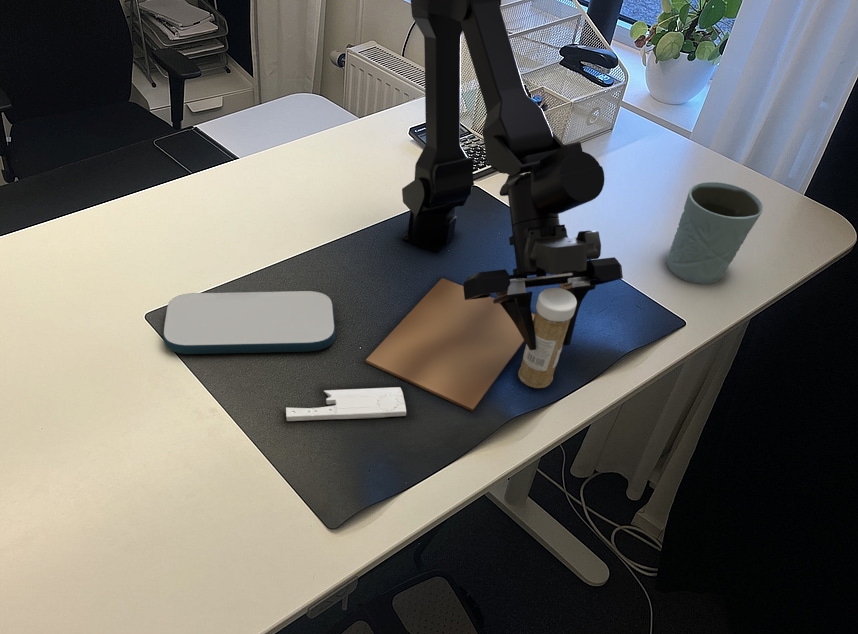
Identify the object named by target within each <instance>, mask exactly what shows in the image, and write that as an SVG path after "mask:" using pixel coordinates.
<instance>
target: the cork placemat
mask: <svg viewBox="0 0 858 634" xmlns="http://www.w3.org/2000/svg"><path fill="white" fill-rule="evenodd" d="M463 287H464V285H461V284H460V283H459V284H458V283H456V282H453V281H451V280H448V279H447V278H443V277H441V278H440V279H439V281H437V283H436V284H435V285H433V287H432V288H430V290H429V291H428V292H427V294H425V295H424V296H423V298H422V299H421V300H420V301H419V302H418V303H417V304H416V305H415V306H414V307H413V308H412V309H411V311H409V313H408V314H407V315H406V316H405V317H404V318H403V319H402V320H401V321H400V323H398V324H397V326H396V327H395V328H393V330H392V331H391V332H390V333H389V334H388V335H387V336H386V337H385V338H384V339H383V340H382V342H381V343H380V344H379V345H378V346H377V347H376V348H375V349H374V350H373V351H372V353H371V354H370V355H368V357H367V358H366V359H365V363H366V364H368V365H370V366H372V367H375V368H376V369H379V370H381V371H383V372H385V373H388V374H390V375H391V376H394V377H397V378H398V379H401V380H403V381H404V382H407V383H409V384H412V385H413V386H416V387H418V388H419V389H423V390H424V391H427V392H429V393H431V394H433V395H435V396H438V397H440V398H442V399H444V400H446V401H449V402H450V403H452V404H455V405H457V406H460V407H462V408H463V409H466V410H468V411H470V412H474V411H475V409H476V408H477V407H478V405H479V404H480V402H481V401H482V400H483V398H484V397H485V396H486V394H487V393H488V391H489V390H490V389H491V387H492V386H493V385H494V384H495V382H496V381H497V379H498V378H499V377H500V375H501V374H502V373H503V371H505V368H506V367H507V366H508V364H509V363H510V362H511V360H512V359H513V358H514V356H515V355H516V353H517V352H518V350H520V348H521V347H522V345H523V344H524V343H525V341H524V339H523V337H522V336H521V334H520V332H519V330H518V329H517V327H516V325H515V324H514V322H513V320H512V319H511V318H510V316H509V315H508V314H507V312H506V311H505V310H504V308H503V307H502V306H501V304H499V303H497V304H494V303H493V300H494V299H495V298H494V297H492V296H489V297H487V298H480V299H471V300H465V297H464V288H463ZM531 313H532V319H533V320H534V316H535V313H533V312H531Z"/></svg>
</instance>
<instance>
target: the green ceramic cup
mask: <svg viewBox="0 0 858 634" xmlns="http://www.w3.org/2000/svg"><path fill="white" fill-rule="evenodd" d="M683 210H684V211H683V212H682V213H681V216H680V218H679V222H678V227H677V228H676V231H675V234H674V238H673V240H672V243H671V246H670V250H669V252H668V255H667V258H666V265H667V268H668V270H669V271H670V272H671V273H672V274H673V275H675V276H676V277H678V278H680V279H681V280H684V281H686V282H689V283H692V284H693V283H694V284H699V285H709V284H710V285H711V284H714V283H717V282H719V281H720V280H721V279H723V277H724V276H725V274H726V272H727V271H728V269H729V266H730V264H731V263H732V262H733V260H734V258H735V257H736V255H737V253H738V252H739V251H740V248H741V246H742V245H743V244H744V242H745V240H746V239H747V236H748V234H749V233H750V232H751V230H752V229H753V227H754V226H755V224H756V223H757V221H758V219H759V218H760V216H761V215H762V213H763V211H764V205H763V203H762V201H761V199H760V198H758V196H756V195H755V194H754V193H753V192H751V191H749V190H747V189H745V188H743V187H741V186H738V185H735V184H730V183H726V182H718V181H707V182H700V183H697V184H695V185H693V186H692V187H691V188H689V190H688V193H687V195H686V200H685V203H684V207H683Z"/></svg>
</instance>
